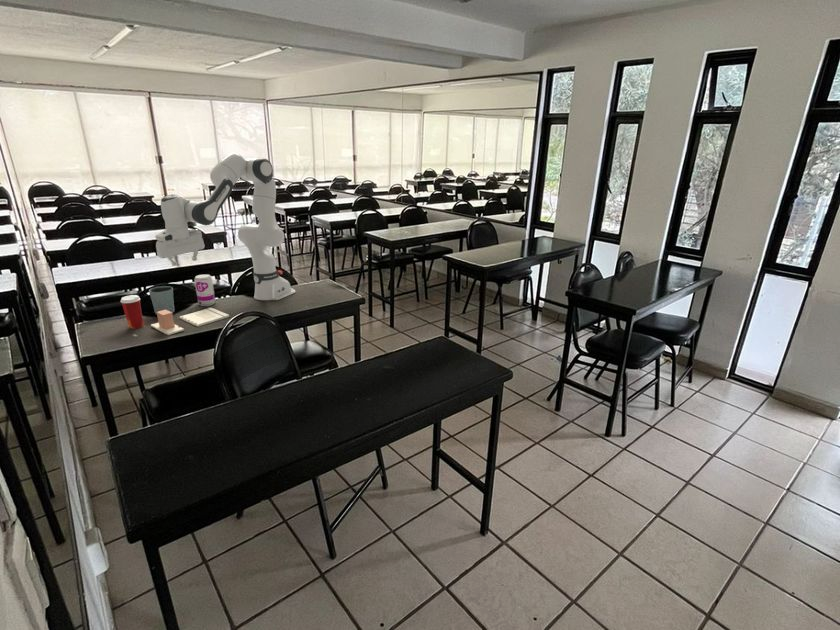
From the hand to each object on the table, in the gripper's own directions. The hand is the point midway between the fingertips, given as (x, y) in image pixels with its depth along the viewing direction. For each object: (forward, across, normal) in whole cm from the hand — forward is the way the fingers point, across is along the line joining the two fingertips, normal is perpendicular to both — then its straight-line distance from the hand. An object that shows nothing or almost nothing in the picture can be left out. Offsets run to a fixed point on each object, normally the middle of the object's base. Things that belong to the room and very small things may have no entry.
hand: (184, 262), depth 209 cm
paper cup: (+27, +22, -12) cm, 37 cm away
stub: (+27, +15, +2) cm, 31 cm away
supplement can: (+29, -14, -15) cm, 35 cm away
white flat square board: (+28, -3, +2) cm, 28 cm away
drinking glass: (+28, +5, -20) cm, 35 cm away
